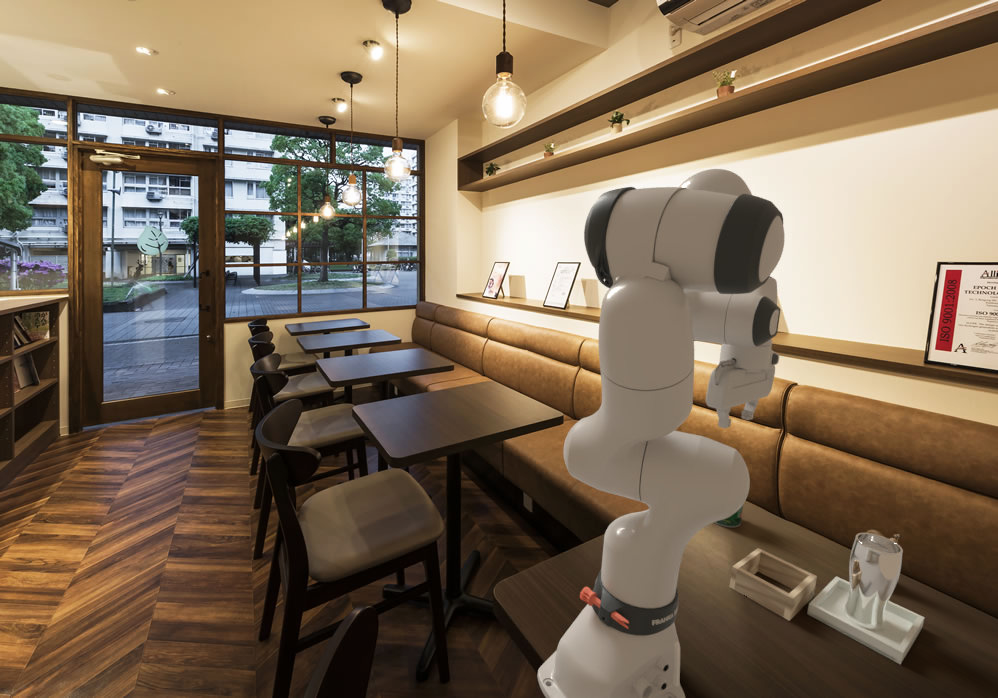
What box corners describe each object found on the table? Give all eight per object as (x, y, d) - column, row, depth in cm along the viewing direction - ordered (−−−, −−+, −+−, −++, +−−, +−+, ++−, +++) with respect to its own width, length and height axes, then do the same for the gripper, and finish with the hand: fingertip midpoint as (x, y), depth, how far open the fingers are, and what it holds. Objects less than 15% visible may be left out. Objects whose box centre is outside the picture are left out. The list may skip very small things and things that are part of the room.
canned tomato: (736, 513, 123) (742, 473, 120) (744, 530, 115) (750, 487, 113) (703, 509, 124) (708, 469, 122) (709, 524, 117) (715, 483, 115)
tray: (900, 664, 77) (903, 652, 76) (807, 614, 87) (809, 603, 87) (922, 628, 85) (924, 617, 84) (834, 586, 95) (836, 576, 95)
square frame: (789, 620, 85) (793, 598, 85) (729, 586, 94) (732, 566, 93) (813, 596, 92) (817, 576, 91) (755, 567, 101) (758, 547, 100)
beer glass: (871, 606, 89) (886, 533, 86) (898, 634, 82) (915, 556, 80) (832, 602, 90) (845, 530, 87) (855, 630, 83) (870, 552, 80)
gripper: (734, 364, 86) (724, 437, 88) (783, 355, 98) (774, 419, 100) (701, 358, 91) (693, 427, 93) (752, 349, 103) (744, 411, 105)
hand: (735, 423), depth 97 cm, fingers open, 8 cm apart
